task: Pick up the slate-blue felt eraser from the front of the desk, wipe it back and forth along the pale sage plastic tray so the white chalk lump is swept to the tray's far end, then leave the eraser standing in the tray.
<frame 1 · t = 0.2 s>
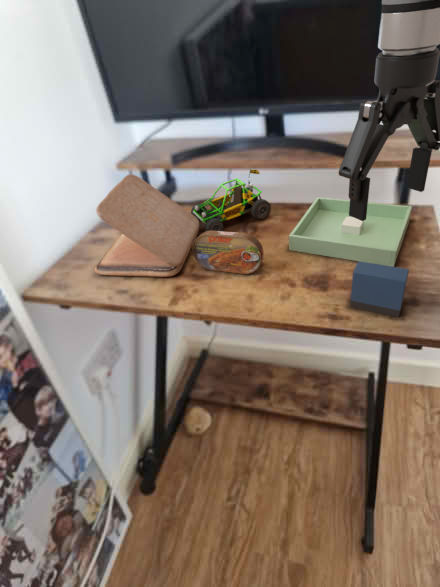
hand: (387, 203, 64), 17 cm above the table, tool pointing down, fingers open, 13 cm apart
motor vehicle: (231, 219, 103), on the table
chalk: (352, 229, 90), point 1 cm above the table, touching tray
case: (150, 253, 94), on the table
tin: (230, 269, 85), on the table
eraser: (375, 306, 70), on the table
tray: (350, 235, 89), on the table
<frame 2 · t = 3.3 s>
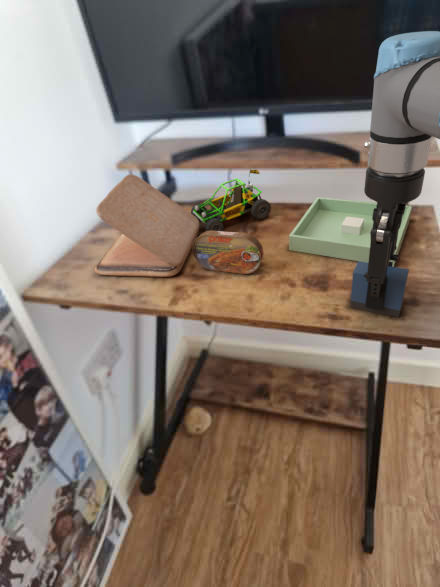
hand: (376, 299, 69), 1 cm above the table, tool pointing down, fingers closed on eraser, 3 cm apart
eraser: (375, 306, 70), on the table, touching gripper
everything else where it was.
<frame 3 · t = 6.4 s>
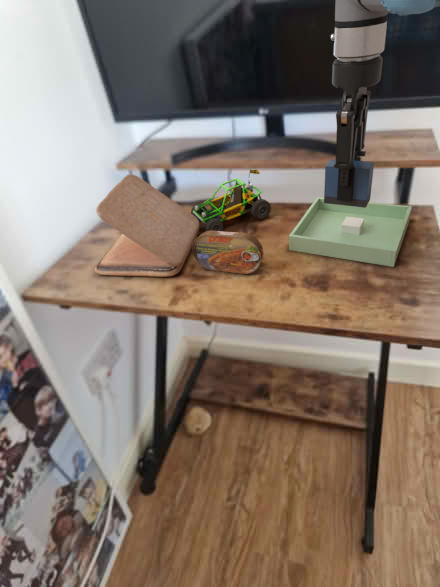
hand: (347, 194, 78), 12 cm above the table, tool pointing down, fingers closed on eraser, 3 cm apart
eraser: (346, 201, 78), point 11 cm above the table, touching gripper
everything else where it was.
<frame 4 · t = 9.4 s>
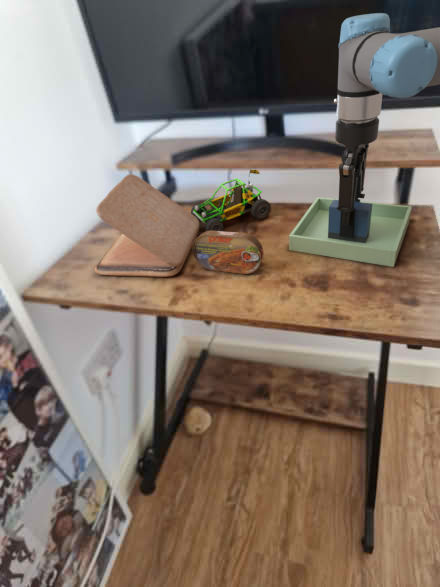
hand: (348, 231, 87), 2 cm above the table, tool pointing down, fingers closed on eraser, 3 cm apart
chalk: (353, 227, 91), point 1 cm above the table, touching gripper, tray
eraser: (348, 236, 88), point 1 cm above the table, touching gripper, tray
everything else where it was.
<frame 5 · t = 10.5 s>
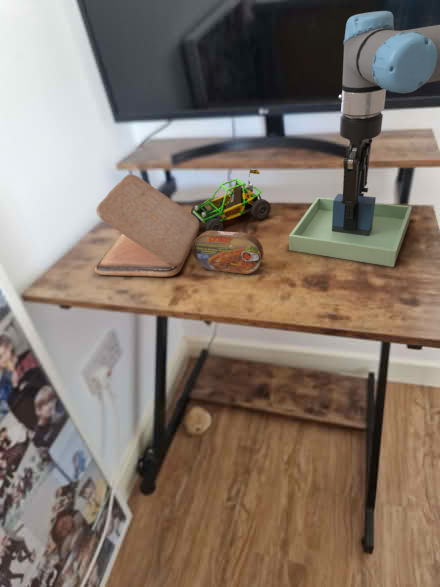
hand: (352, 224, 89), 2 cm above the table, tool pointing down, fingers closed on eraser, 3 cm apart
chalk: (356, 220, 93), point 1 cm above the table, touching gripper, tray
eraser: (351, 230, 90), point 1 cm above the table, touching gripper, tray
everything else where it was.
when the fingers open (2 cm above the table, at t = 15.4 s): eraser stays where it is, resting on tray.
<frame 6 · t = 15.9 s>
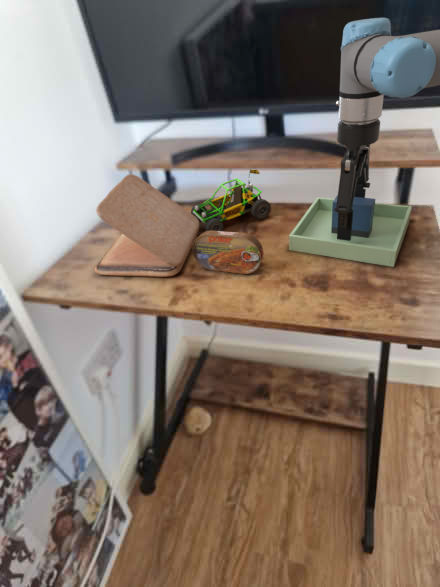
hand: (350, 227, 87), 2 cm above the table, tool pointing down, fingers open, 10 cm apart
chalk: (358, 217, 94), point 1 cm above the table, touching gripper, tray
eraser: (351, 231, 89), point 1 cm above the table, touching tray
everything else where it was.
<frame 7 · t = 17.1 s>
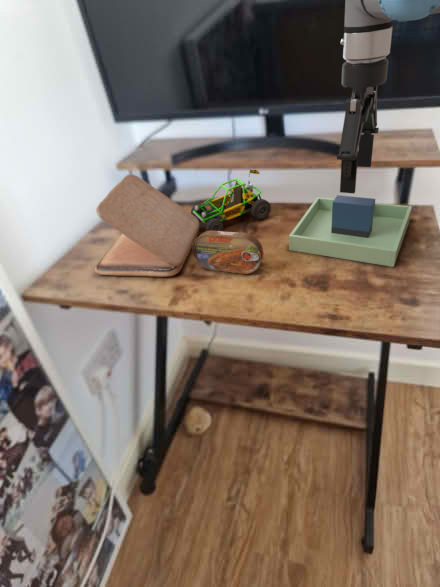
hand: (356, 178, 82), 13 cm above the table, tool pointing down, fingers open, 13 cm apart
chalk: (358, 211, 92), point 3 cm above the table, tilted 90°, touching tray
everything else where it was.
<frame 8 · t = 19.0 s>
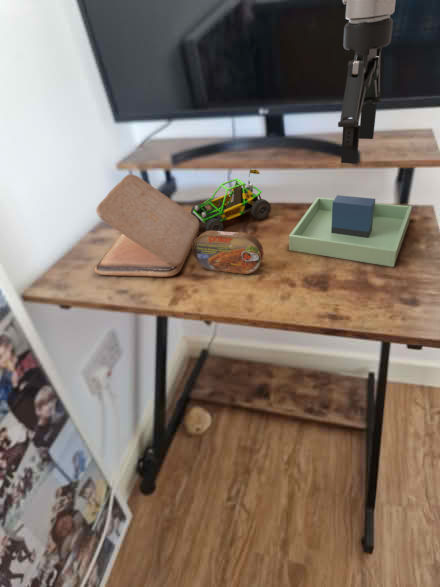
hand: (357, 150, 78), 19 cm above the table, tool pointing down, fingers open, 13 cm apart
nothing on the table moved.
at the end: chalk inside the target area in the tray (0.2 cm from its centre), point 2.6 cm above the tray's base; eraser inside the target area in the tray (0.5 cm from its centre), point 0.6 cm above the tray's base; the gripper is holding nothing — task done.
